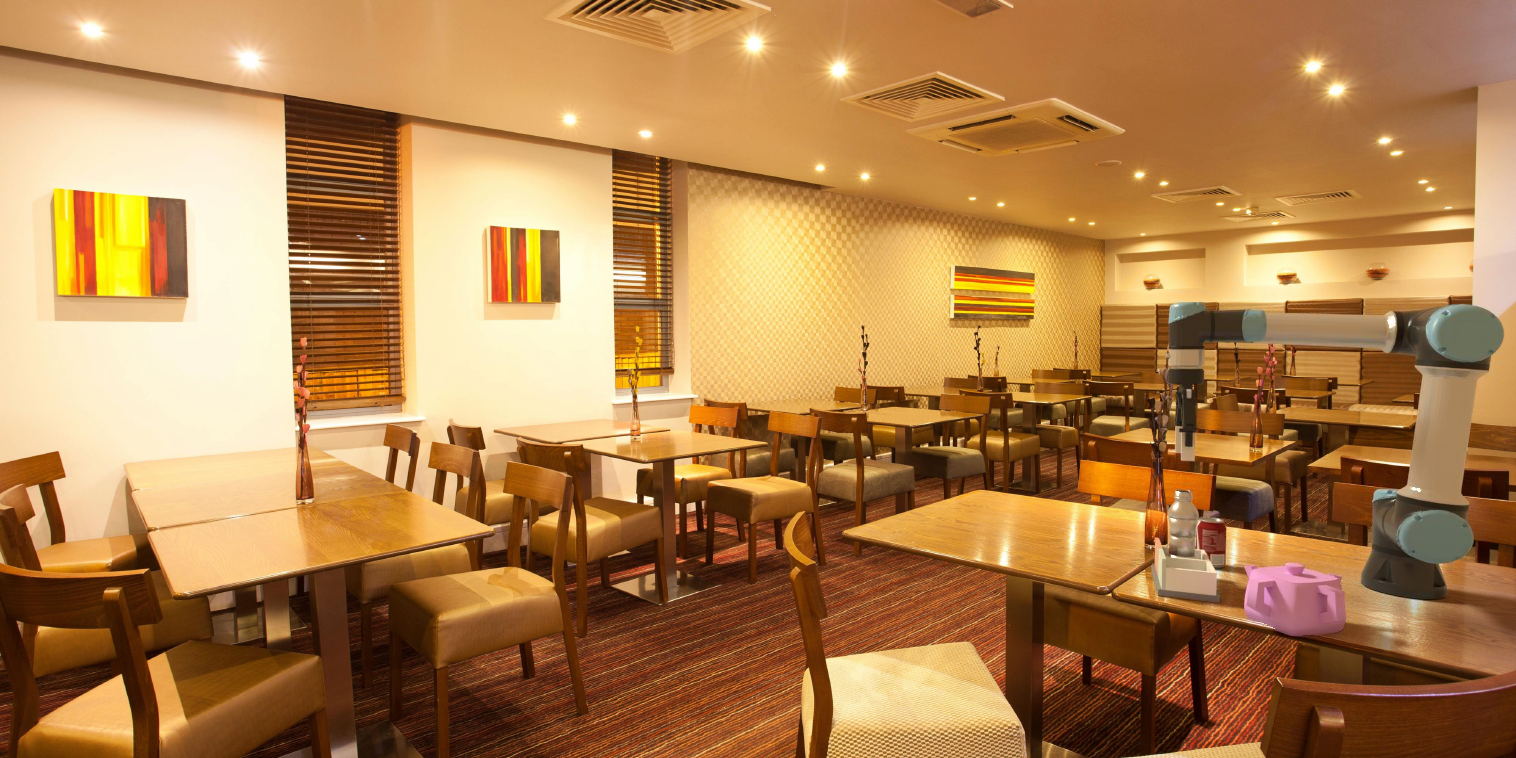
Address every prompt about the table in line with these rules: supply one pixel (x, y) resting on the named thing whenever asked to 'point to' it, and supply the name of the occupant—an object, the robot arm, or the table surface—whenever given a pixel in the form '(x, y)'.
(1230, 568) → the table surface
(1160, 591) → the socket board
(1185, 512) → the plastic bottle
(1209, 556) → the soda can
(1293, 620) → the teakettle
